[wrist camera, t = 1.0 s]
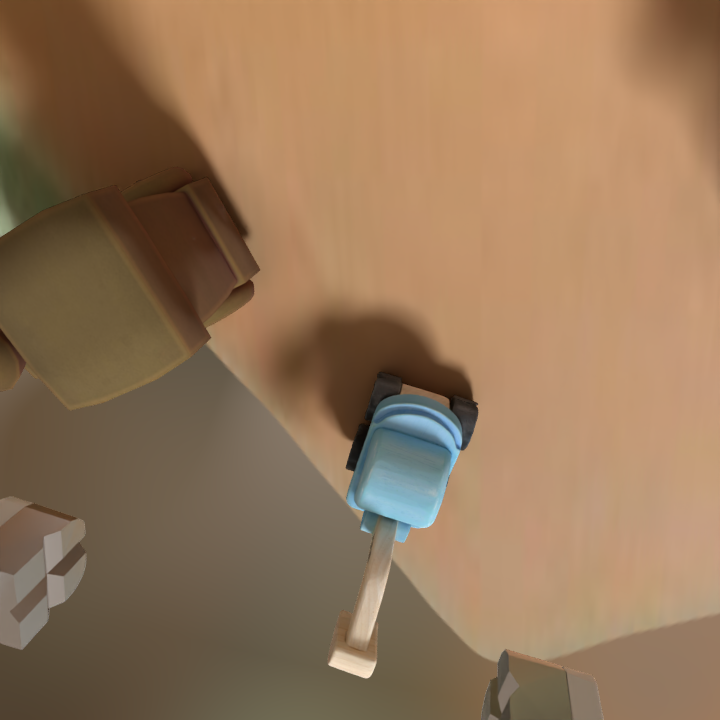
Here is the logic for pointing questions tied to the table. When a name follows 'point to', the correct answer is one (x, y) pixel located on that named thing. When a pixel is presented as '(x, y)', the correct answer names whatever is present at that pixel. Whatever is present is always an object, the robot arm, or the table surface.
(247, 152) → the table surface
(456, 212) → the table surface
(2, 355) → the wooden toy train
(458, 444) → the toy excavator
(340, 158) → the table surface
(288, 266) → the table surface
